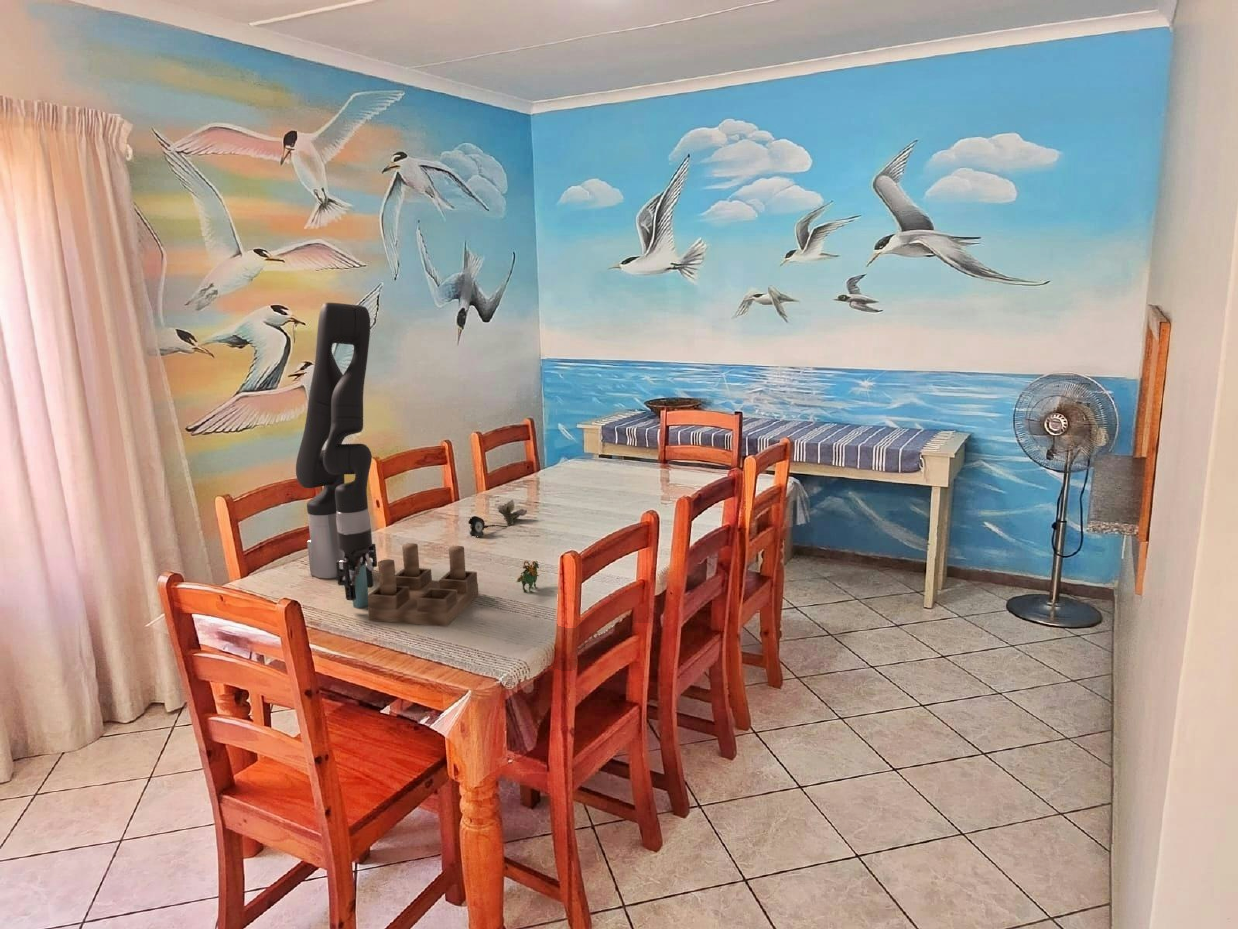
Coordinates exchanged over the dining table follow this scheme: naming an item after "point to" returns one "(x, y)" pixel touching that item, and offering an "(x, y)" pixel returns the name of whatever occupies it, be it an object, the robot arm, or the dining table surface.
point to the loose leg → (361, 589)
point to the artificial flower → (479, 525)
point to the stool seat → (422, 590)
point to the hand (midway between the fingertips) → (360, 593)
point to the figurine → (529, 575)
